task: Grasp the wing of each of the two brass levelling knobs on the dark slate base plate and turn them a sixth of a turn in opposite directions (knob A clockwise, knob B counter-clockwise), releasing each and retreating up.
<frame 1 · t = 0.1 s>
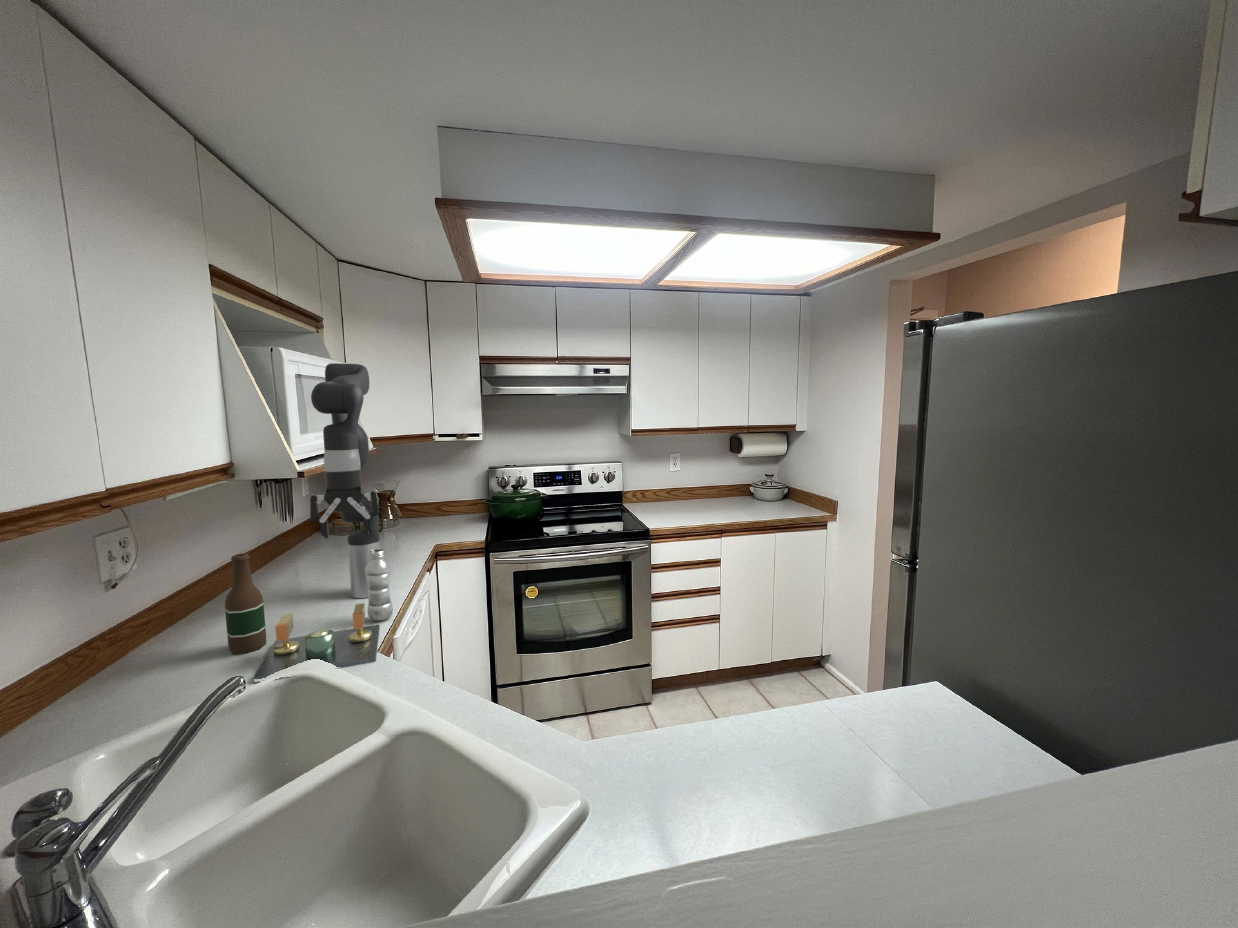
hand: (347, 535, 121), 29 cm above the table, fingers open, 8 cm apart
beer bottle: (248, 648, 126), on the table
knob b: (359, 623, 128), point 5 cm above the table, hinge at 0.0°
knob a: (285, 634, 121), point 5 cm above the table, hinge at 0.0°
plastic bottle: (380, 619, 144), on the table
base plate: (323, 652, 123), on the table
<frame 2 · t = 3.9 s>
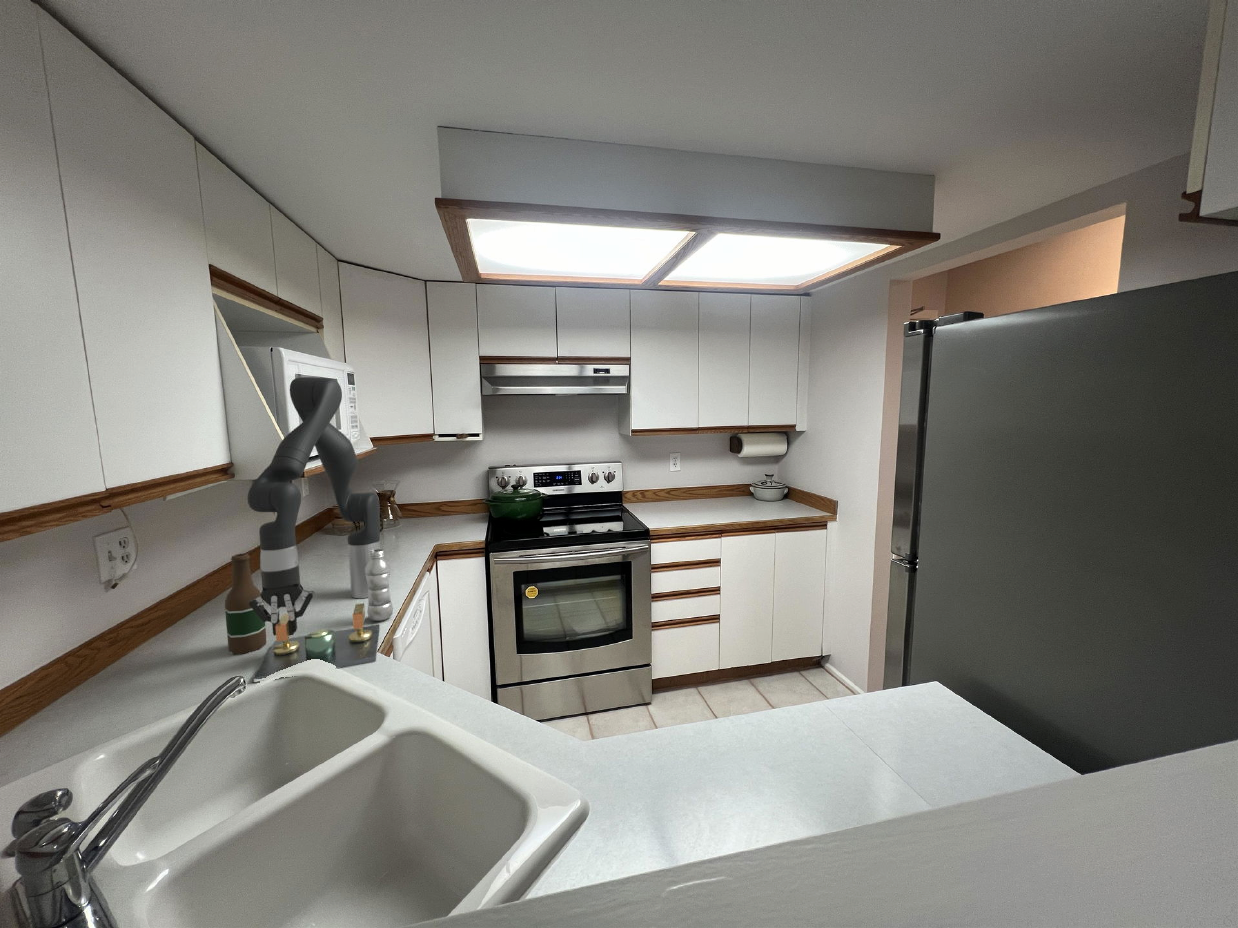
hand: (285, 634, 121), 5 cm above the table, fingers closed on knob a, 2 cm apart
knob a: (285, 634, 121), point 5 cm above the table, hinge at 0.0°, touching gripper
everything else where it was.
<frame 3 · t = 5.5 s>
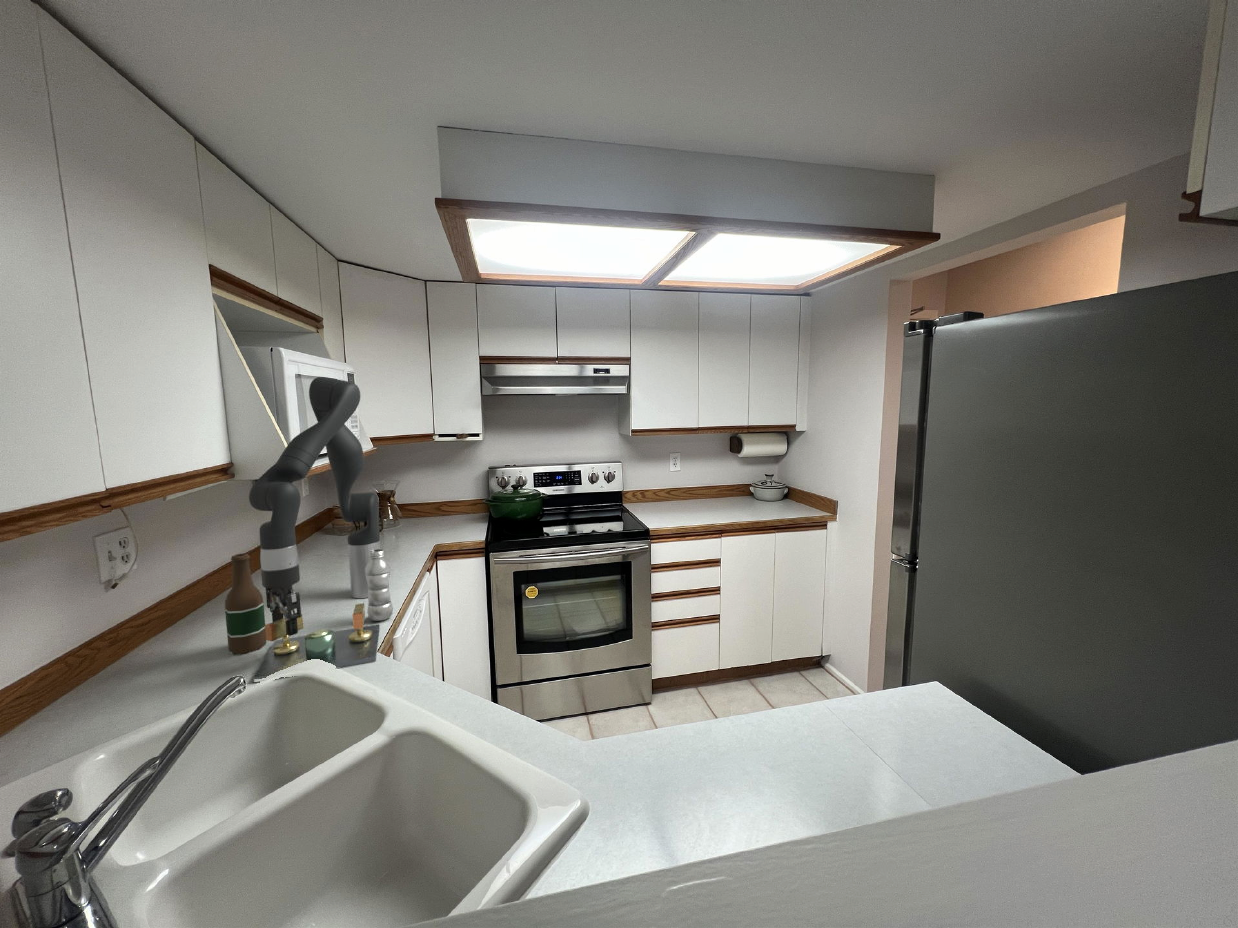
hand: (285, 630, 121), 6 cm above the table, fingers open, 8 cm apart
knob a: (285, 634, 121), point 5 cm above the table, hinge at -44.8°
everything else where it was.
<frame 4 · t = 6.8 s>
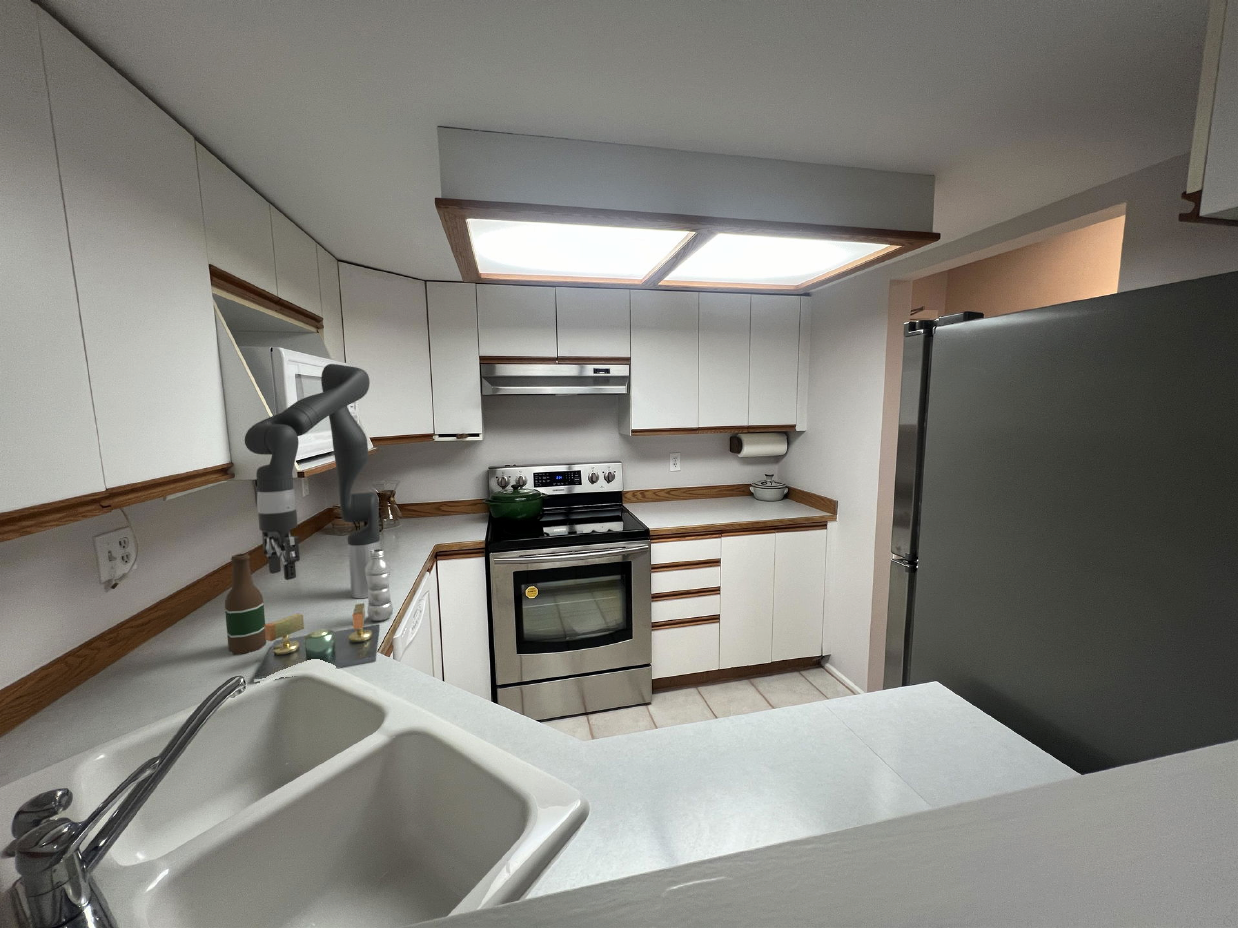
hand: (282, 575, 120), 20 cm above the table, fingers open, 8 cm apart
knob a: (285, 634, 121), point 5 cm above the table, hinge at -50.6°
everything else where it was.
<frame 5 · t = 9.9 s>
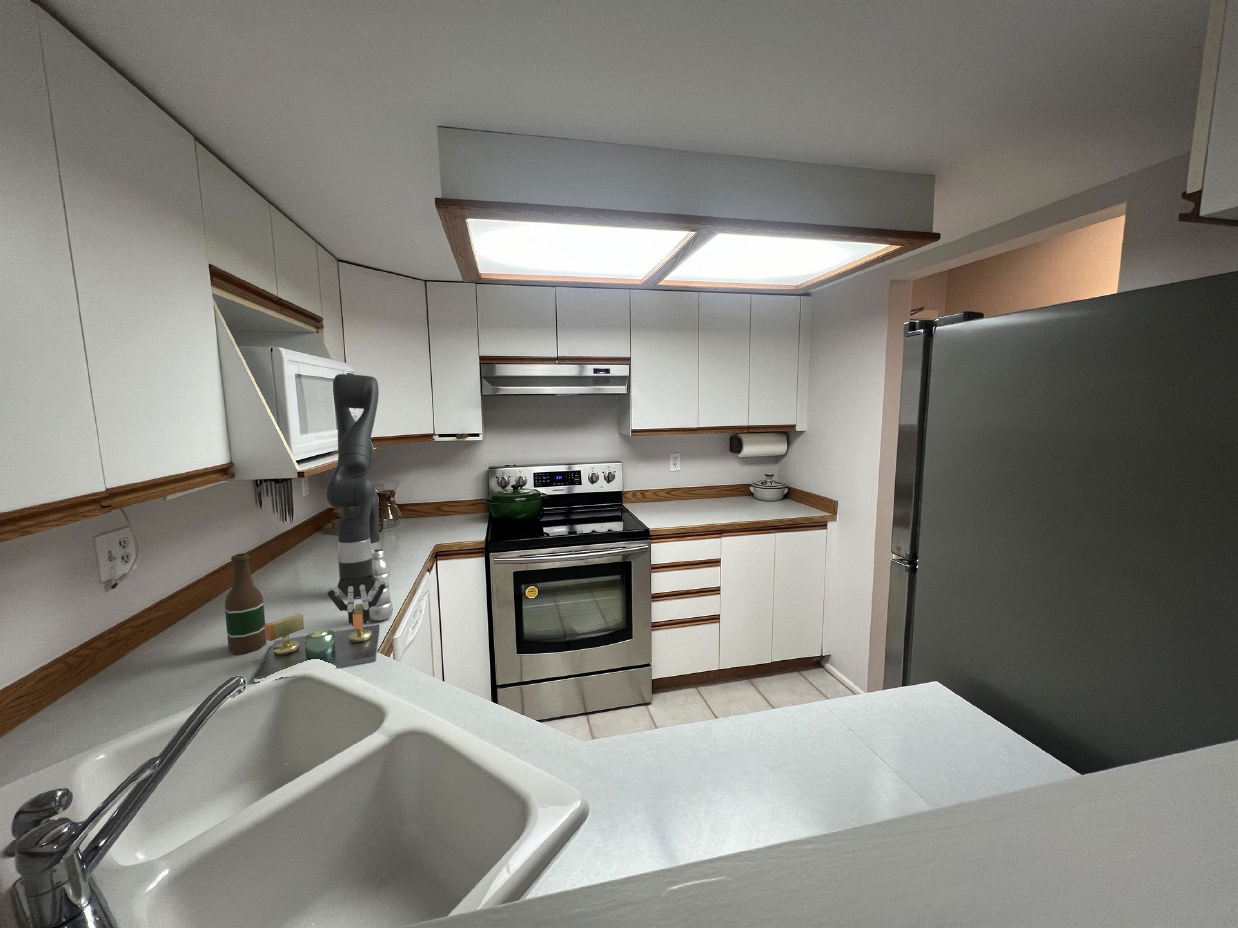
hand: (359, 623, 128), 5 cm above the table, fingers closed on knob b, 2 cm apart
knob b: (359, 623, 128), point 5 cm above the table, hinge at 0.0°, touching gripper
knob a: (285, 634, 121), point 5 cm above the table, hinge at -51.8°
everything else where it was.
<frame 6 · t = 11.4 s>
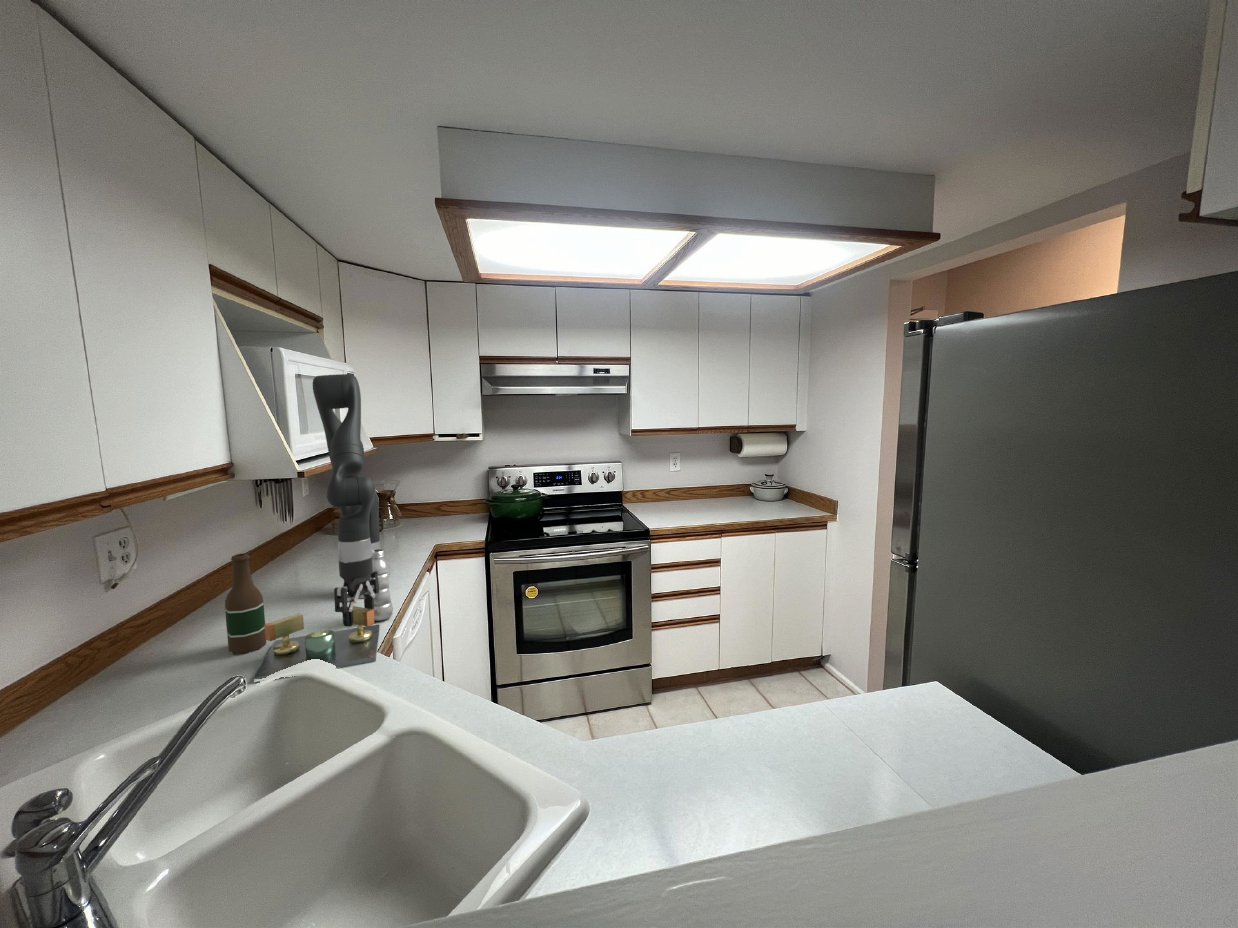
hand: (359, 618, 128), 6 cm above the table, fingers open, 8 cm apart
knob b: (359, 623, 128), point 5 cm above the table, hinge at 45.3°
everything else where it was.
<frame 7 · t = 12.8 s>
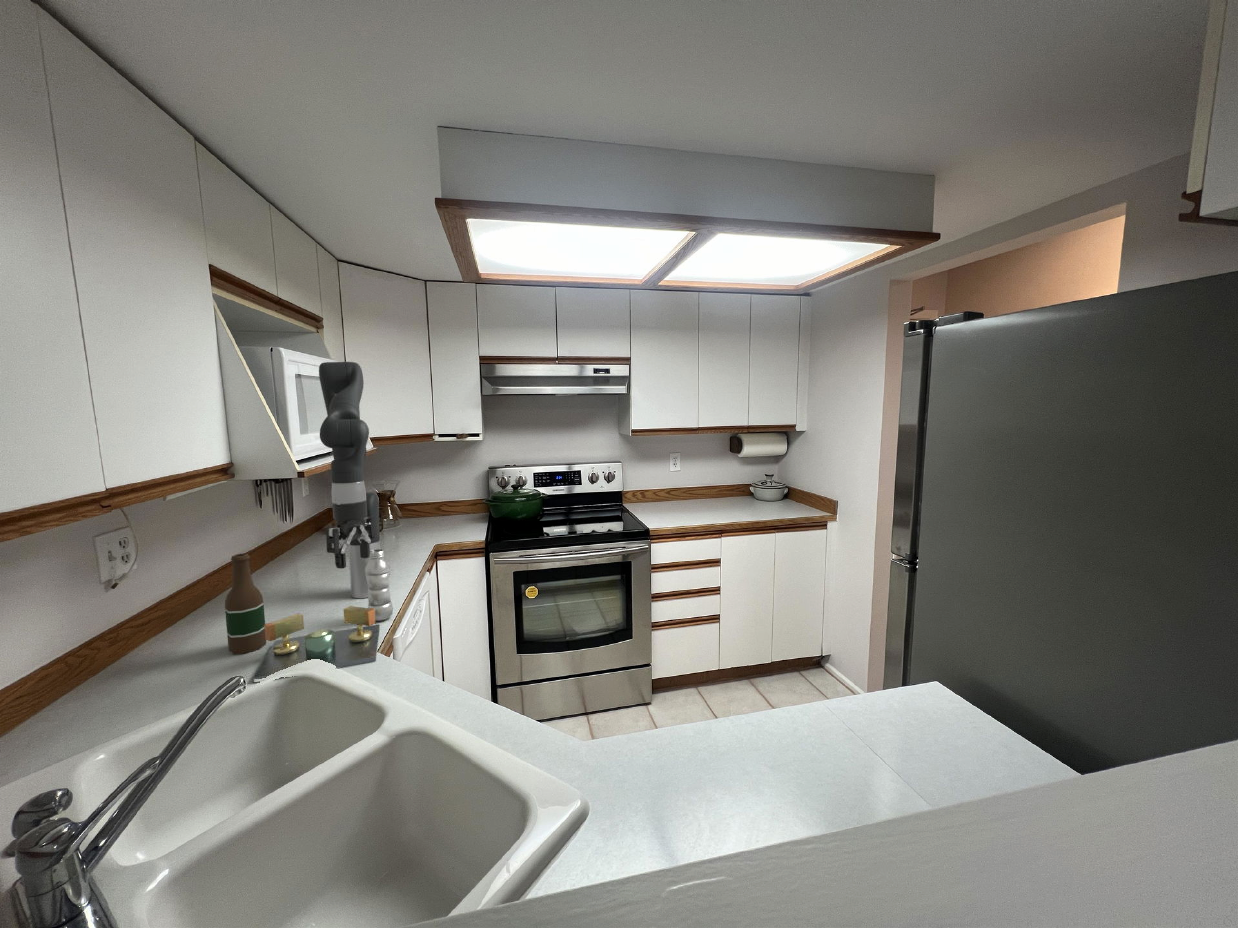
hand: (353, 562, 127), 21 cm above the table, fingers open, 8 cm apart
knob b: (359, 623, 128), point 5 cm above the table, hinge at 51.1°
everything else where it was.
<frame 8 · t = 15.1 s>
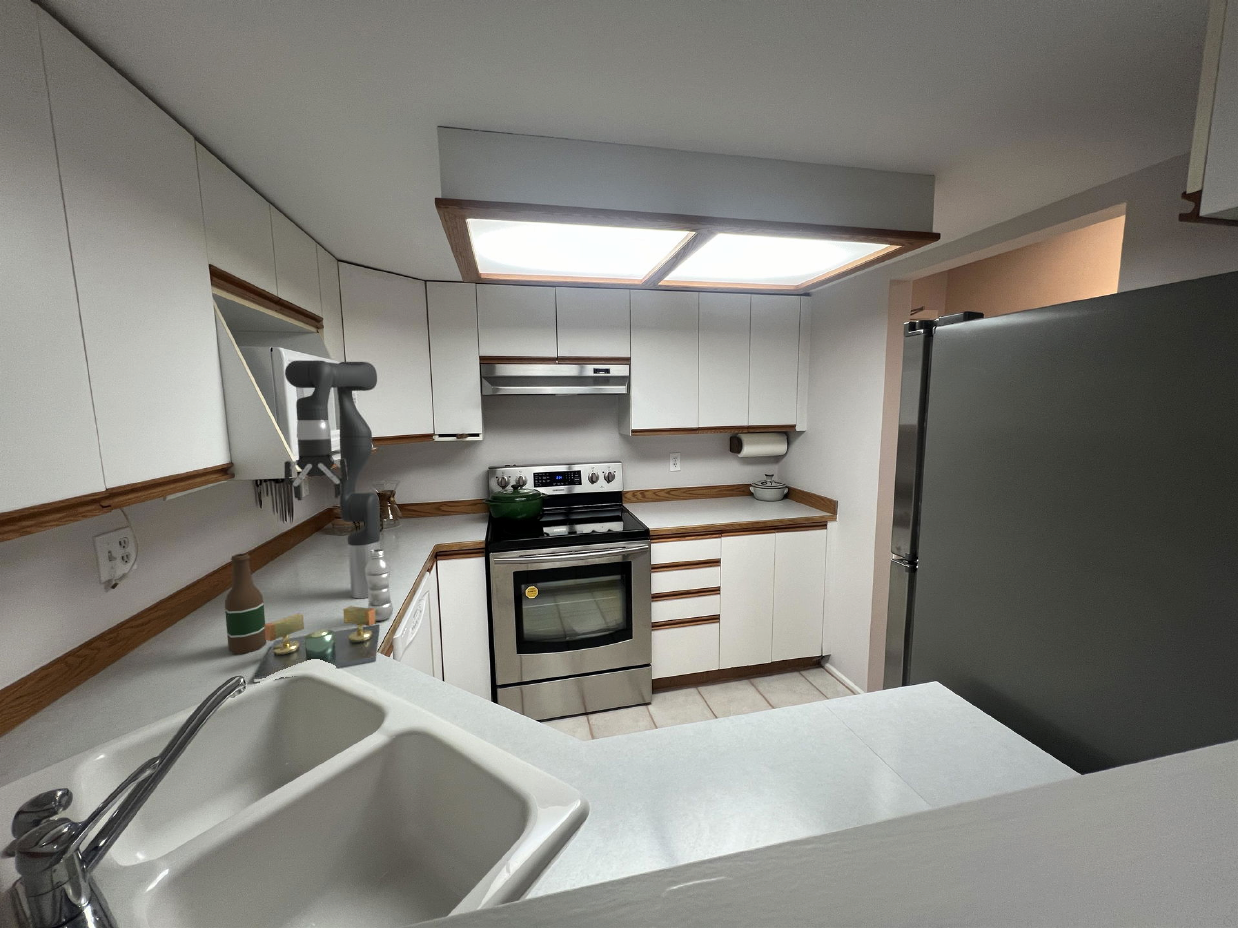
hand: (318, 498, 133), 36 cm above the table, fingers open, 8 cm apart
knob b: (359, 623, 128), point 5 cm above the table, hinge at 52.1°
everything else where it was.
at the end: knob a at -52° (first picture: +0°); knob b at +52° (first picture: +0°); the gripper is holding nothing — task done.
